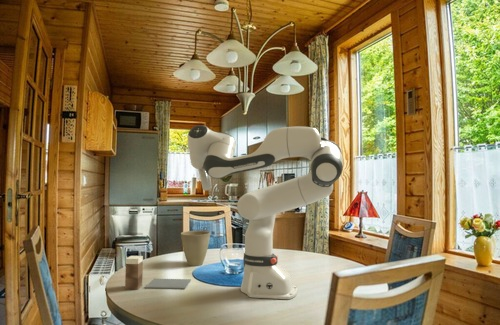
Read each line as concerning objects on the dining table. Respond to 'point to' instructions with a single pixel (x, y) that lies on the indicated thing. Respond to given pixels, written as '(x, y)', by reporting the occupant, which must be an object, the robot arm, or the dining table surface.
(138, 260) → the walnut block
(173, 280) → the grey mat
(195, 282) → the dining table surface
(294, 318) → the dining table surface
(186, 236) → the plant pot
